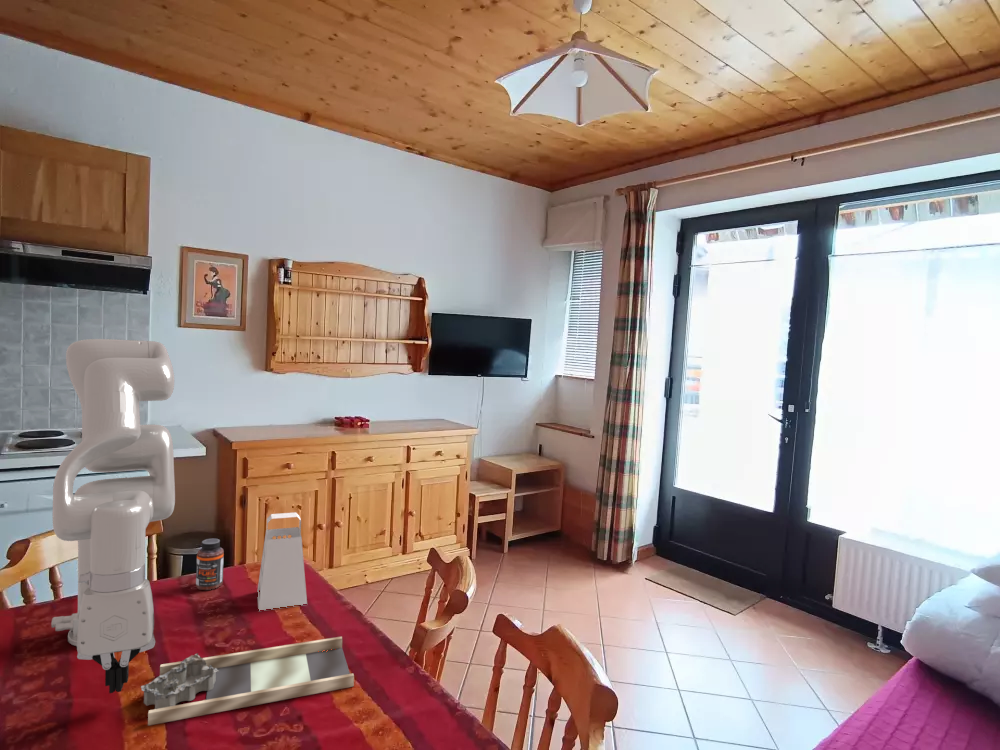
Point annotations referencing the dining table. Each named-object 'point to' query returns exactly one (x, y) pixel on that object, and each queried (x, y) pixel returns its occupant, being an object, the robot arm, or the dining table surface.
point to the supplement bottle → (209, 565)
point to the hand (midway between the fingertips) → (116, 687)
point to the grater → (282, 568)
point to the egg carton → (180, 683)
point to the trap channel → (265, 678)
